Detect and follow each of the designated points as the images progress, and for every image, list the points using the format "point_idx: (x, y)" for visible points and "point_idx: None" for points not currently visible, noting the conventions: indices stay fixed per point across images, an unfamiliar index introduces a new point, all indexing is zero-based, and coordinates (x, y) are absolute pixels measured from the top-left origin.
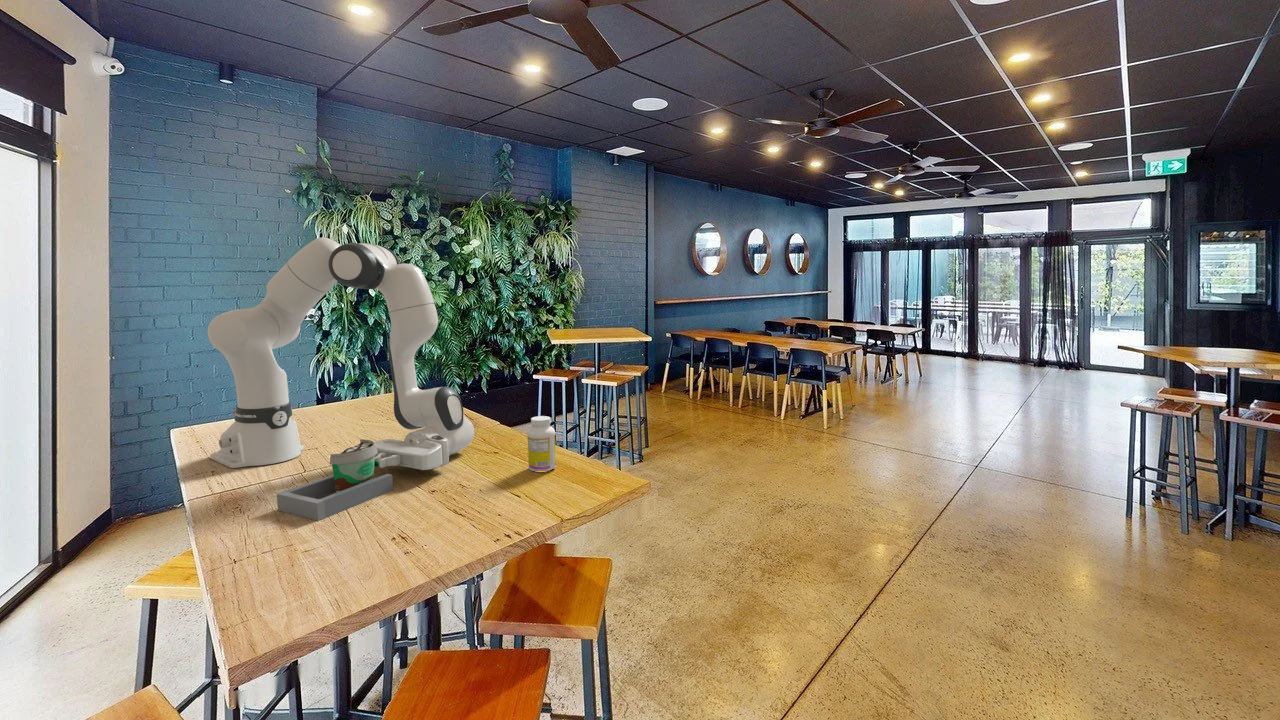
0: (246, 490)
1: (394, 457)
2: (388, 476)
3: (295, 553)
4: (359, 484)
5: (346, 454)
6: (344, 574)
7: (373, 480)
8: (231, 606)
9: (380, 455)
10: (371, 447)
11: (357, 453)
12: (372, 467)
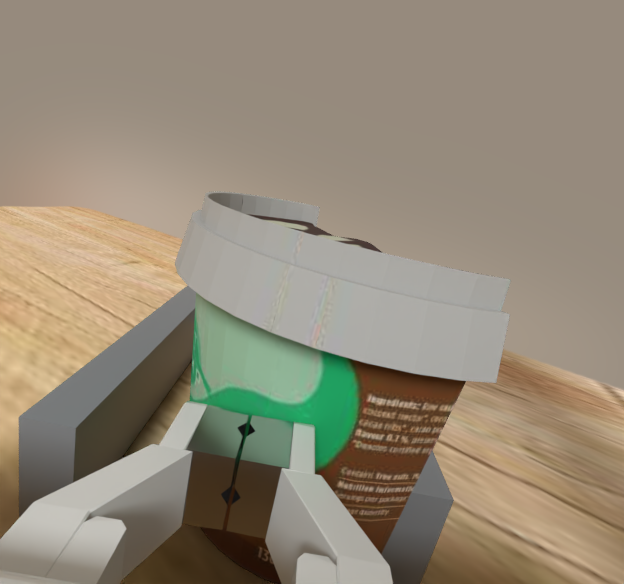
0: (614, 425)
1: (53, 503)
2: (46, 398)
3: (149, 261)
4: (173, 327)
5: (261, 203)
6: (23, 230)
7: (127, 352)
8: (144, 229)
9: (306, 509)
10: (205, 206)
11: (227, 205)
12: (195, 364)
